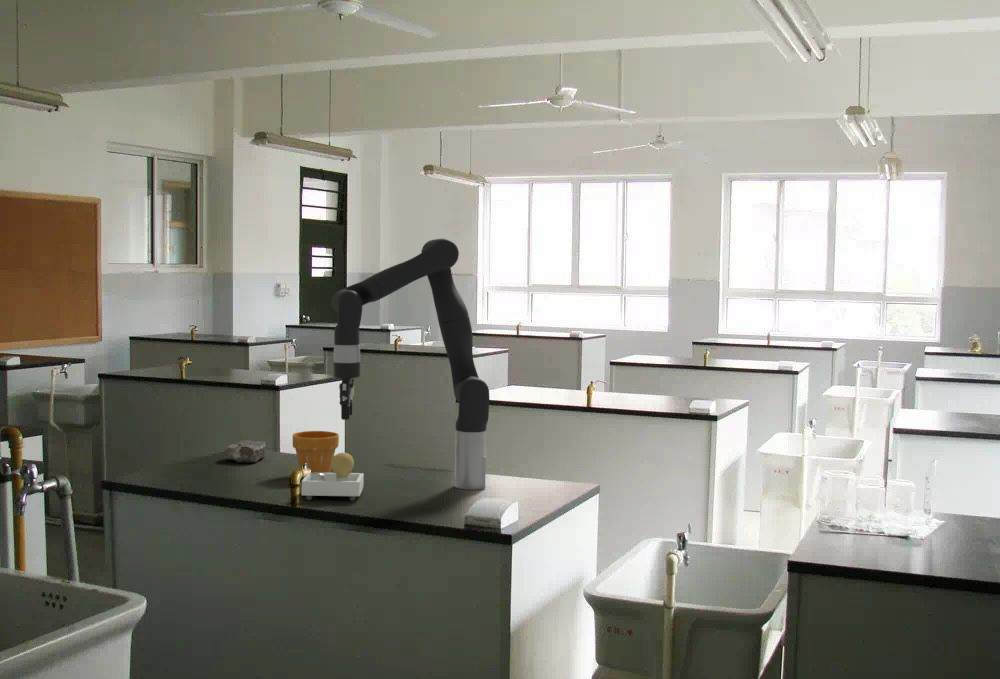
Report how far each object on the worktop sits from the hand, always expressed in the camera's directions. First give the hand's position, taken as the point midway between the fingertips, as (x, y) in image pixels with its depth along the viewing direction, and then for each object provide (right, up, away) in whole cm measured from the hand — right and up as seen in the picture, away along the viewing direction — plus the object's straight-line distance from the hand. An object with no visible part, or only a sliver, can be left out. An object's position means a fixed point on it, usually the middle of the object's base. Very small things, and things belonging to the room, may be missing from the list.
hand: (346, 417), depth 285 cm
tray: (-4, -23, 0) cm, 23 cm away
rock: (-41, -19, +50) cm, 67 cm away
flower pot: (-14, -21, +28) cm, 37 cm away
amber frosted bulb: (-1, -20, 0) cm, 20 cm away
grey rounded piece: (-8, -20, 0) cm, 22 cm away
